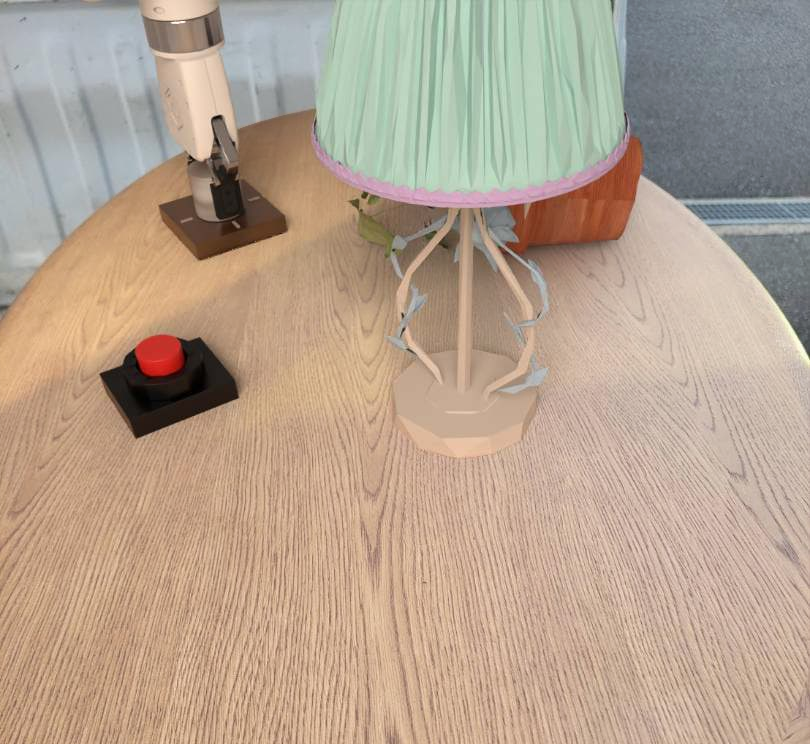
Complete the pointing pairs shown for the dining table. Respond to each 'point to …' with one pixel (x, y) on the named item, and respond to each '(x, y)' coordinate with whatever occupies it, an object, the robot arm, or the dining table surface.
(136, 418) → the switch block
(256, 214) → the dimmer panel
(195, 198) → the dimmer knob
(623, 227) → the potted plant
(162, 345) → the light button
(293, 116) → the dining table surface
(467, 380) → the table lamp
